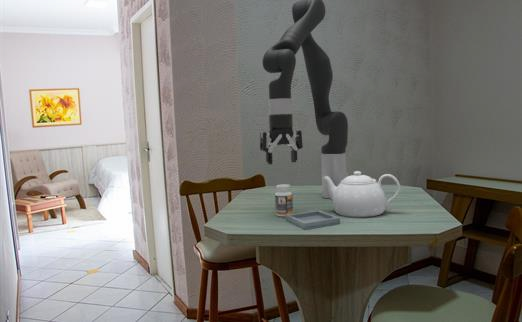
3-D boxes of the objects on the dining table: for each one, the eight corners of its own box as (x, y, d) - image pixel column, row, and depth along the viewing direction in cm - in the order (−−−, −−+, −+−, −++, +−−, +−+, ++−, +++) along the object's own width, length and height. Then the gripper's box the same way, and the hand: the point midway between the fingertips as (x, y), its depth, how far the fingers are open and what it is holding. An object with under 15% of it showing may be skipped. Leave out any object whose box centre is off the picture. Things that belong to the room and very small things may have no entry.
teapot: (356, 222, 127) (355, 177, 126) (320, 211, 144) (319, 171, 142) (402, 213, 136) (402, 171, 134) (363, 203, 152) (362, 166, 151)
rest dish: (318, 215, 137) (318, 210, 137) (340, 223, 126) (339, 217, 126) (285, 220, 132) (285, 215, 132) (304, 229, 121) (304, 223, 121)
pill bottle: (291, 217, 137) (290, 186, 136) (274, 217, 138) (273, 187, 137) (294, 213, 142) (293, 183, 141) (277, 213, 143) (276, 184, 142)
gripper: (294, 112, 143) (295, 160, 144) (255, 114, 137) (257, 163, 139) (305, 112, 136) (306, 162, 138) (265, 113, 130) (266, 166, 132)
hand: (282, 163), depth 138 cm, fingers open, 8 cm apart
